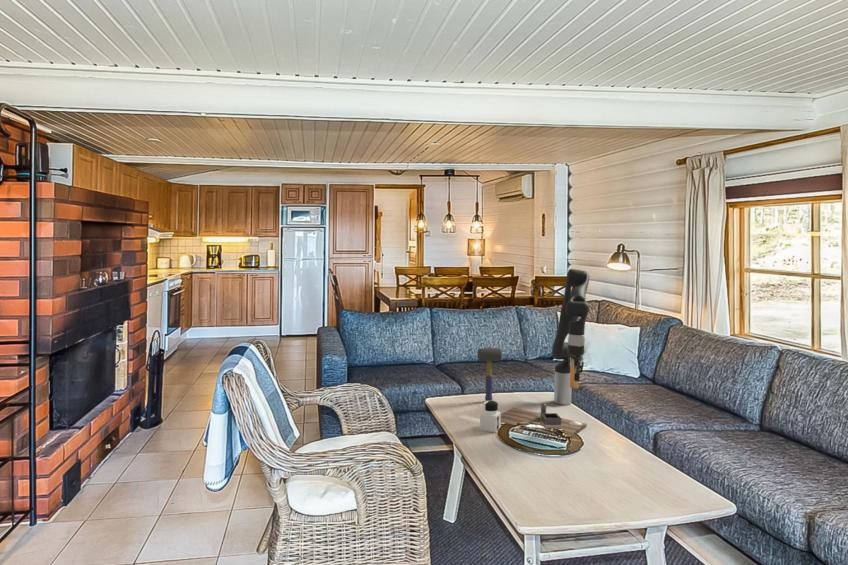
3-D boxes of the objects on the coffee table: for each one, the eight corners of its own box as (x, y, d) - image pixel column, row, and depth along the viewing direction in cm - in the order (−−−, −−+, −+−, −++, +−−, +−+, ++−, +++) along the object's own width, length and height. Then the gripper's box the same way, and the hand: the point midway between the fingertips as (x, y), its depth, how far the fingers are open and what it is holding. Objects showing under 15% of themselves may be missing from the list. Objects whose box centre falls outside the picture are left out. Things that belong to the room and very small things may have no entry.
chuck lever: (534, 416, 263) (534, 402, 263) (549, 416, 264) (549, 402, 263) (544, 429, 245) (545, 414, 244) (561, 429, 245) (561, 414, 244)
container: (500, 427, 252) (501, 400, 251) (495, 432, 245) (496, 405, 244) (484, 425, 255) (485, 398, 254) (479, 430, 248) (480, 402, 247)
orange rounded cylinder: (580, 387, 253) (581, 360, 252) (576, 389, 250) (577, 361, 249) (572, 385, 255) (573, 358, 254) (568, 387, 252) (569, 360, 251)
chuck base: (513, 410, 278) (513, 407, 278) (586, 426, 255) (586, 423, 254) (489, 422, 259) (489, 418, 259) (566, 441, 236) (566, 437, 236)
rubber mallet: (497, 399, 298) (499, 346, 296) (501, 403, 290) (502, 348, 288) (476, 400, 296) (476, 346, 294) (479, 404, 289) (480, 349, 287)
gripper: (562, 341, 258) (561, 376, 259) (574, 346, 244) (573, 383, 245) (577, 340, 258) (576, 375, 260) (590, 346, 244) (588, 383, 246)
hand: (574, 379), depth 252 cm, fingers closed on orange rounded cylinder, 4 cm apart
